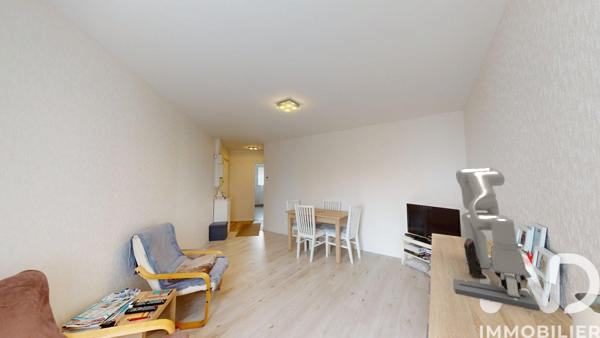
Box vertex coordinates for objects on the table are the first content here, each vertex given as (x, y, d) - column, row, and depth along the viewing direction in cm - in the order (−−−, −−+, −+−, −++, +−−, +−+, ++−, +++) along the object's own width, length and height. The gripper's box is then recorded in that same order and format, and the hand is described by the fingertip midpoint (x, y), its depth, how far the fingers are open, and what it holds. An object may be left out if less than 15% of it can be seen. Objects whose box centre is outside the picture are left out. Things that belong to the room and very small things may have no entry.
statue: (487, 279, 103) (482, 240, 105) (472, 278, 105) (467, 239, 106) (478, 273, 110) (473, 236, 112) (464, 273, 111) (459, 236, 113)
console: (455, 293, 92) (455, 288, 92) (453, 282, 102) (453, 277, 102) (539, 310, 77) (538, 304, 77) (527, 295, 87) (527, 290, 87)
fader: (508, 295, 84) (506, 279, 84) (503, 288, 90) (501, 273, 90) (520, 297, 82) (518, 281, 82) (515, 290, 88) (512, 274, 88)
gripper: (529, 246, 86) (535, 290, 84) (479, 241, 95) (484, 281, 94) (536, 251, 80) (543, 299, 78) (482, 246, 89) (487, 288, 87)
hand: (511, 289), depth 86 cm, fingers closed on fader, 3 cm apart
